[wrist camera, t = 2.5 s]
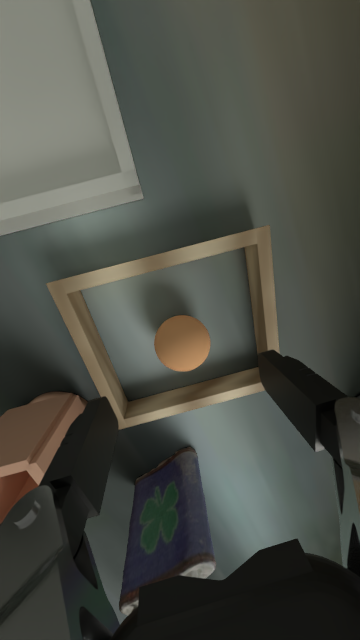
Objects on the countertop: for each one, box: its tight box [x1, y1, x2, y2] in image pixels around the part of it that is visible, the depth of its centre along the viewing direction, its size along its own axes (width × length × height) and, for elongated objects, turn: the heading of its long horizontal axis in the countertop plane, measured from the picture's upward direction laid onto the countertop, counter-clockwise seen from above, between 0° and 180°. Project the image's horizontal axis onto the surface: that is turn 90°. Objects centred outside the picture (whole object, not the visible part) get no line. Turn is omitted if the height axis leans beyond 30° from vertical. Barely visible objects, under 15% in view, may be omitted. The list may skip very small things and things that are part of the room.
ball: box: [154, 315, 210, 371], centre depth 15 cm, size 4×4×4 cm
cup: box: [0, 391, 88, 524], centre depth 16 cm, size 7×7×7 cm
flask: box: [119, 446, 216, 615], centre depth 18 cm, size 9×3×11 cm, turn 128°
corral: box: [46, 225, 279, 430], centre depth 16 cm, size 16×14×2 cm
